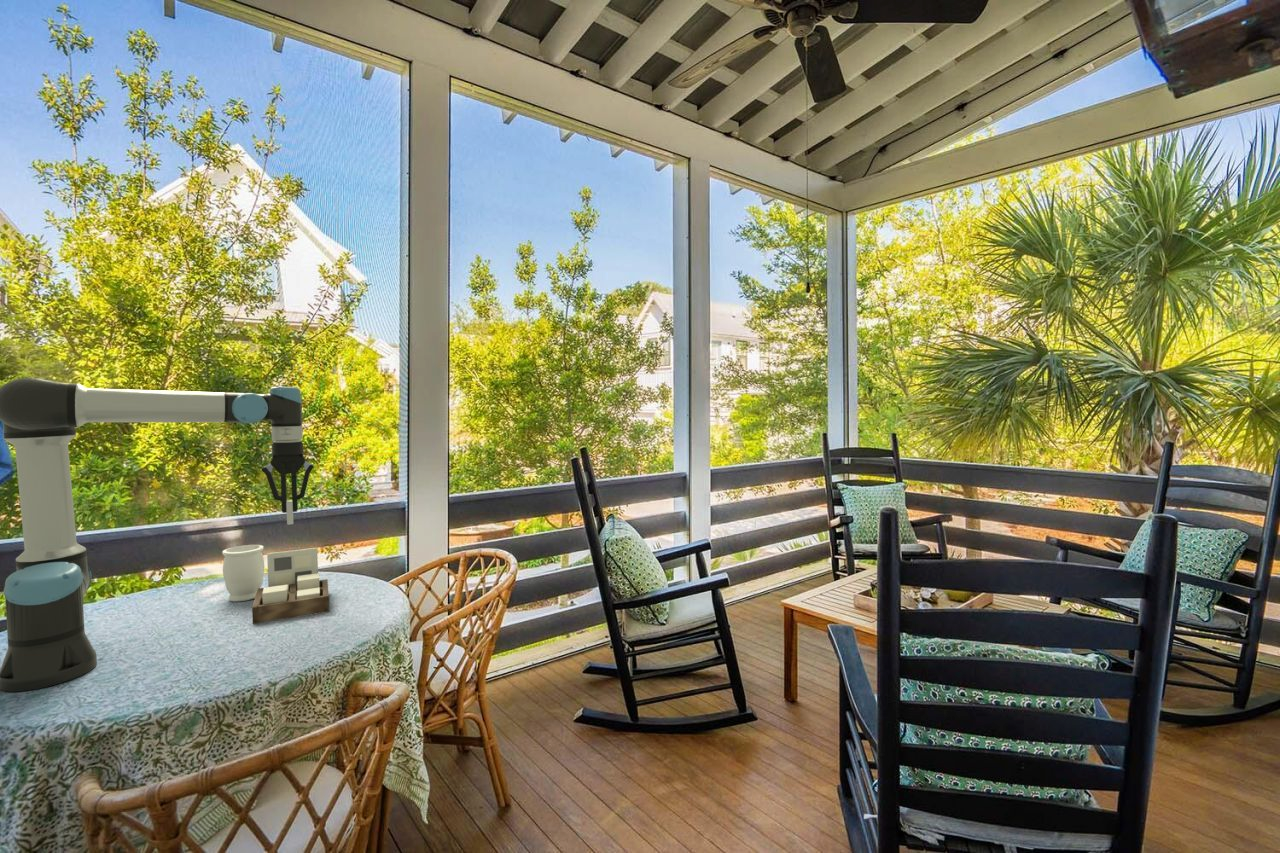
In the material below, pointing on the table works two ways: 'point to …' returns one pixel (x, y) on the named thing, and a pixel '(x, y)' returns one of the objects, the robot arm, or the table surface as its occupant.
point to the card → (291, 566)
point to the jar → (243, 571)
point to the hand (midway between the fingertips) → (290, 523)
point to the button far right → (308, 581)
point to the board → (290, 605)
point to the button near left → (275, 594)
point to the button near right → (308, 593)
